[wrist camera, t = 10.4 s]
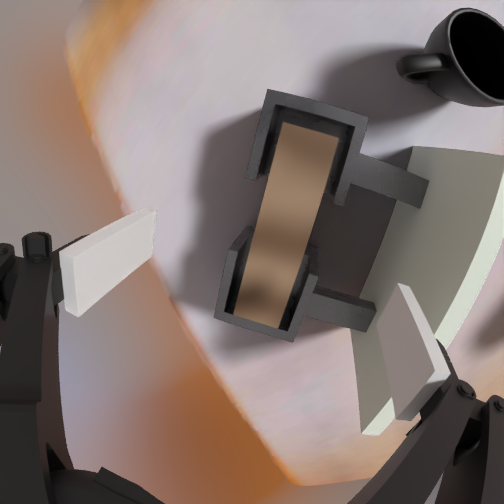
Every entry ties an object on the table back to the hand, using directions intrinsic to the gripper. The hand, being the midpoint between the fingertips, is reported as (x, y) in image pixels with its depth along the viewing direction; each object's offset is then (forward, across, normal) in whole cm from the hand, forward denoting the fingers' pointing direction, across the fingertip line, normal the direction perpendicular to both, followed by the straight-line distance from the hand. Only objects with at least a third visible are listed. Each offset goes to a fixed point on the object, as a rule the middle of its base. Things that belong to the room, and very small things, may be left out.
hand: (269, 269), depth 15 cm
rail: (+12, 0, -1) cm, 13 cm away
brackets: (+16, +3, -1) cm, 16 cm away
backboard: (+16, +11, -1) cm, 19 cm away
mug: (+16, +10, +17) cm, 26 cm away
